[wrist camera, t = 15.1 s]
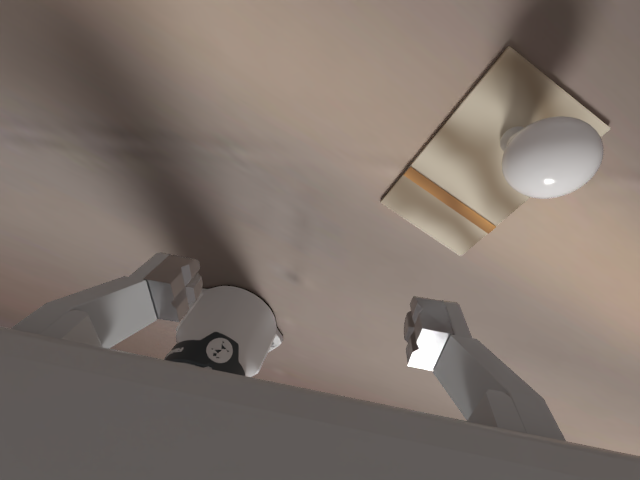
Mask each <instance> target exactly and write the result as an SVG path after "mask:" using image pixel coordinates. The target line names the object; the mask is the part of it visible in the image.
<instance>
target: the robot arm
mask: <svg viewBox="0 0 640 480" xmlns="http://www.w3.org/2000/svg"><path fill="white" fill-rule="evenodd" d="M199 270H200V263H199V261H198V260H197V259H193V258H187V257H182V256H177V255H171V254H166V253H156V254H155V255H154V256H153V257H152V258H150V259H149V260H148V261H147V262H146V263H144V264H143V265H142V266H141V267H140V268H138V269H137V270H136V271H135V272H134V273H132V274H131V275H130V276H129V277H126V276H124V277H121V278H118V279H115V280H112V281H109V282H106V283H103V284H100V285H97V286H95V287H92V288H89V289H86V290H83V291H80V292H77V293H74V294H71V295H68V296H65V297H63V298H60V299H57V300H54V301H51V302H48V303H46V304H44V305H43V306H42V307H40V308H39V309H37V310H36V311H35V312H33V313H32V314H30V315H29V316H27V317H26V318H25V319H23V320H22V321H20V322H19V323H18V324H16V325H15V326H13V327H12V328H11V329H10V328H5V327H0V480H640V456H636V455H631V454H626V453H621V452H616V451H611V450H606V449H601V448H596V447H591V446H587V445H582V444H577V443H572V442H567V441H566V440H565V438H564V436H563V435H562V433H561V431H560V429H559V427H558V425H557V423H556V421H555V419H554V417H553V416H552V414H551V412H550V410H549V408H548V406H547V404H546V402H545V400H544V399H543V398H542V397H541V396H540V395H539V394H538V393H537V392H535V391H534V390H533V389H532V388H531V387H530V386H529V385H528V384H526V383H525V382H524V381H523V380H522V379H521V378H520V377H519V376H518V375H516V374H515V373H514V372H513V371H512V370H511V369H510V368H509V367H507V366H506V365H505V364H504V363H503V362H502V361H501V360H500V359H499V358H497V357H496V356H495V355H494V354H493V353H492V352H491V351H490V350H488V349H487V348H486V347H485V346H484V345H483V344H482V343H481V342H480V341H478V340H477V339H474V338H472V336H471V333H470V331H469V328H468V326H467V323H466V321H465V318H464V316H463V313H462V310H461V308H460V305H459V304H458V303H457V302H450V301H443V300H442V301H441V300H435V299H429V298H423V297H417V296H414V297H413V298H412V300H411V303H410V307H411V311H410V312H408V313H407V315H406V318H405V323H404V339H405V340H406V341H407V342H408V345H407V347H406V355H407V362H408V366H412V367H417V368H421V369H426V370H431V371H433V373H434V375H435V376H436V377H437V379H438V380H439V382H440V383H441V384H442V386H443V387H444V389H445V390H446V392H447V393H448V394H449V396H450V397H451V399H452V400H453V401H454V403H455V404H456V406H457V407H458V409H459V410H460V411H461V413H462V414H463V416H464V417H465V418H466V420H467V421H463V420H458V419H453V418H449V417H444V416H439V415H434V414H429V413H424V412H419V411H414V410H409V409H404V408H399V407H394V406H390V405H385V404H380V403H375V402H370V401H365V400H360V399H355V398H350V397H345V396H340V395H335V394H330V393H325V392H321V391H316V390H311V389H306V388H301V387H296V386H291V385H286V384H281V383H276V382H271V381H266V380H261V379H256V378H252V376H254V375H255V374H257V373H258V372H259V371H260V369H261V366H262V364H263V362H264V360H265V358H266V356H267V354H268V352H270V351H271V350H273V349H275V348H276V347H278V346H279V345H280V344H281V343H282V341H283V336H282V335H281V333H280V332H279V330H278V329H277V326H276V321H275V317H274V315H273V313H272V311H271V309H270V308H269V307H268V305H267V304H266V303H265V302H264V301H263V300H261V299H260V298H259V297H257V296H256V295H254V294H253V293H251V292H249V291H247V290H244V289H241V288H238V287H233V286H218V287H214V288H211V289H203V288H202V286H203V281H202V277H201V276H200V275H199V273H198V271H199ZM186 313H187V314H186ZM185 314H186V315H185ZM184 315H185V317H184ZM183 317H184V318H183ZM182 318H183V319H182ZM157 319H163V320H169V321H175V322H180V321H181V319H182V321H181V322H180V324H179V325H178V326H177V328H176V331H177V333H176V342H177V344H176V345H175V346H174V347H173V349H172V350H171V351H170V352H169V353H168V354H167V356H166V357H165V358H164V360H163V359H158V358H153V357H148V356H143V355H138V354H133V353H128V352H123V351H118V350H113V349H109V348H111V347H112V346H114V345H116V344H117V343H119V342H121V341H122V340H124V339H126V338H127V337H129V336H131V335H133V334H134V333H136V332H138V331H139V330H141V329H143V328H144V327H146V326H148V325H149V324H151V323H153V322H154V321H156V320H157Z"/></svg>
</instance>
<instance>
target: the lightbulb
mask: <svg viewBox="0 0 640 480" xmlns="http://www.w3.org/2000/svg"><path fill="white" fill-rule="evenodd" d="M500 147H501V149H502V150H503V151H504V154H503V157H502V172H503V175H504V177H505V179H506V181H507V183H508V184H509V185H510V186H511V187H512V188H513V189H514V190H516V191H517V192H519V193H521V194H523V195H525V196H528V197H532V198H539V199H549V198H556V197H561V196H564V195H567V194H569V193H572V192H574V191H576V190H577V189H579V188H581V187H582V186H583V185H585V184H586V183H587V182H588V181H589V180H590V179H591V178H592V177H593V176H594V175H595V173H596V172H597V170H598V169H599V167H600V165H601V162H602V159H603V143H602V139H601V137H600V135H599V134H598V132H597V131H596V130H595V129H594V128H593V127H592V126H591V125H590V124H588V123H586V122H585V121H582V120H580V119H577V118H573V117H567V116H556V117H549V118H545V119H541V120H538V121H536V122H533V123H531V124H529V125H528V126H526V127H522V126H516V127H513V128H510V129H509V130H507V131H506V132H505V133H504V134H503V136H502V137H501V140H500Z"/></svg>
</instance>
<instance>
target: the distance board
mask: <svg viewBox="0 0 640 480" xmlns="http://www.w3.org/2000/svg"><path fill="white" fill-rule="evenodd" d="M556 116H567V117H573V118H577V119H580V120H582V121H585V122H586V123H588V124H590V125H591V126H592V127H593V128H594V129H595V130H596V131H597V132H598V134H599V135H600V137H602V136H603V135H604V134H605V133H606V132H608V131H609V130H610V129H611V128H610V127H608V126H607V125H606V124H605V123H604V122H602V121H601V120H600V119H599V118H597V117H596V116H595V115H594V114H592V113H591V112H590V111H589V110H588V109H586V108H585V107H584V106H583V105H581V104H580V103H579V102H578V101H576V100H575V99H574V98H573V97H572V96H570V95H569V94H568V93H567V92H565V91H564V90H563V89H562V88H560V87H559V86H558V85H557V84H556V83H554V82H553V81H552V80H551V79H549V78H548V77H547V76H546V75H545V74H543V73H542V72H541V71H540V70H538V69H537V68H536V67H535V66H533V65H532V64H531V63H530V62H529V61H527V60H526V59H525V58H524V57H522V56H521V55H520V54H519V53H517V52H516V51H515V50H514V49H513V48H511V47H510V46H508V47H507V48H506V49H505V50H504V51H503V53H502V54H501V55H500V56H499V58H498V59H497V60H496V61H495V62H494V64H493V65H492V66H491V67H490V69H489V70H488V71H487V72H486V73H485V75H484V76H483V77H482V78H481V79H480V81H479V82H478V83H477V84H476V86H475V87H474V88H473V89H472V90H471V92H470V93H469V94H468V95H467V97H466V98H465V99H464V100H463V101H462V103H461V104H460V105H459V106H458V107H457V109H456V110H455V111H454V112H453V114H452V115H451V116H450V117H449V118H448V120H447V121H446V122H445V123H444V124H443V126H442V127H441V128H440V129H439V131H438V132H437V133H436V134H435V135H434V137H433V138H432V139H431V140H430V142H429V143H428V144H427V145H426V146H425V148H424V149H423V150H422V151H421V152H420V154H419V155H418V156H417V157H416V159H415V160H414V161H413V162H412V163H411V165H410V166H409V167H408V168H407V170H406V171H405V172H404V173H403V174H402V176H401V177H400V178H399V179H398V180H397V182H396V183H395V184H394V185H393V187H392V188H391V189H390V190H389V191H388V193H387V194H386V195H385V196H384V197H383V199H382V200H381V201H380V203H381V204H383V205H384V206H386V207H387V208H389V209H390V210H392V211H393V212H395V213H396V214H398V215H399V216H401V217H402V218H404V219H405V220H407V221H408V222H410V223H411V224H413V225H414V226H416V227H417V228H419V229H420V230H422V231H423V232H425V233H426V234H428V235H429V236H431V237H432V238H434V239H435V240H437V241H438V242H440V243H441V244H443V245H444V246H446V247H447V248H449V249H450V250H452V251H453V252H455V253H456V254H458V255H459V256H462V255H463V254H464V253H465V252H467V251H468V250H469V249H470V248H471V247H472V246H474V245H475V244H476V243H477V242H478V241H480V240H481V239H482V238H483V237H484V236H485V235H487V234H489V233H490V232H491V231H492V230H493V229H494V228H496V226H497V225H498V224H499V223H501V222H502V221H503V220H504V219H505V218H507V217H508V216H509V215H510V214H511V213H512V212H514V211H515V210H516V209H517V208H518V207H519V206H521V205H522V204H523V203H524V202H525V201H527V200H528V199H529V198H530V197H528V196H525V195H523V194H521V193H519V192H517V191H516V190H514V189H513V188H512V187H511V186H510V185H509V184H508V183H507V181H506V179H505V177H504V175H503V172H502V157H503V154H504V151H503V150H502V149H501V147H500V140H501V137H502V136H503V134H504V133H505V132H506V131H507V130H509V129H510V128H513V127H516V126H522V127H526V126H528V125H529V124H531V123H533V122H536V121H538V120H541V119H545V118H549V117H556Z"/></svg>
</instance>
